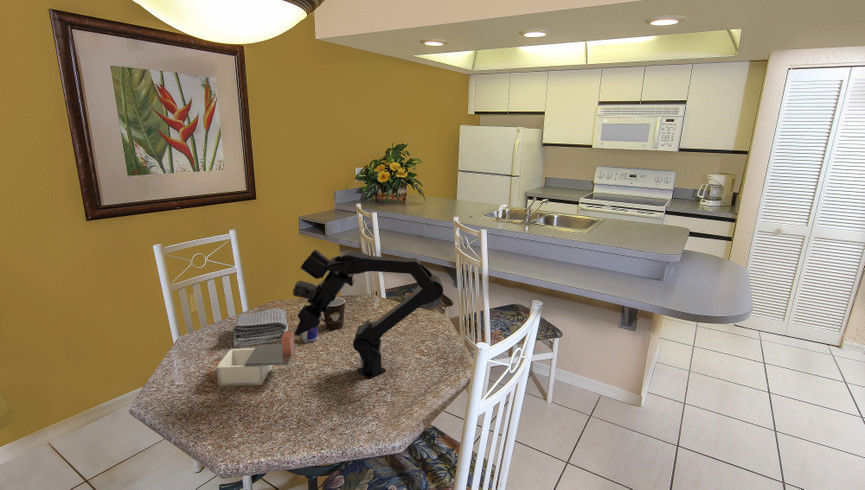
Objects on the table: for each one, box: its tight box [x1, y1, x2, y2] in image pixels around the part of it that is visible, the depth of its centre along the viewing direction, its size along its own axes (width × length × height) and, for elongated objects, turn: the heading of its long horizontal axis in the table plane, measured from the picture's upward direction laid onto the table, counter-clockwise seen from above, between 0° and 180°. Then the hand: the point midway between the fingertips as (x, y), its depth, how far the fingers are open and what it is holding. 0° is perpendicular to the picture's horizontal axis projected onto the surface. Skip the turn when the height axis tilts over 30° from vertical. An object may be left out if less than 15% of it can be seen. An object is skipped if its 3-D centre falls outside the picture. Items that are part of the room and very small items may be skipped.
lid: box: [245, 330, 298, 366], centre depth 126 cm, size 12×11×7 cm
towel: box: [232, 308, 289, 348], centre depth 153 cm, size 15×18×8 cm
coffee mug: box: [321, 297, 346, 331], centre depth 161 cm, size 12×9×10 cm
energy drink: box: [299, 304, 319, 344], centre depth 150 cm, size 5×5×12 cm
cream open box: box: [215, 347, 273, 387], centre depth 127 cm, size 12×11×6 cm
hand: (300, 327), depth 127 cm, fingers open, 9 cm apart
